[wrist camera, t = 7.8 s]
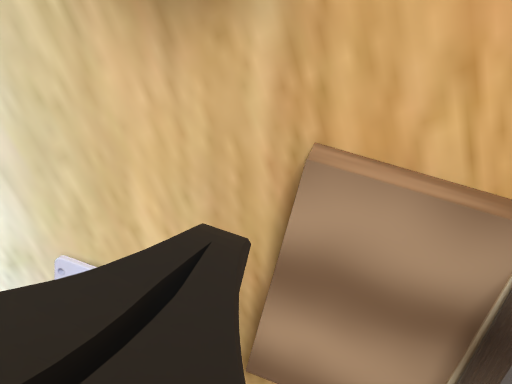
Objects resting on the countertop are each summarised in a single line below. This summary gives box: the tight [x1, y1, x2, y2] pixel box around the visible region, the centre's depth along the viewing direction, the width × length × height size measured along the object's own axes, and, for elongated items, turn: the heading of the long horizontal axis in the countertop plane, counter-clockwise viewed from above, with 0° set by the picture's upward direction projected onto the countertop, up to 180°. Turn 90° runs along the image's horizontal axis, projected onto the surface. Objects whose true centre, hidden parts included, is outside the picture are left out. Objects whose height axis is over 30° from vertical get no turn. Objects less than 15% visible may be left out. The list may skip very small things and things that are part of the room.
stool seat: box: [246, 143, 512, 384], centre depth 19 cm, size 12×12×3 cm
